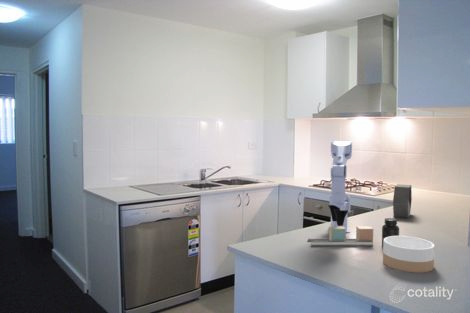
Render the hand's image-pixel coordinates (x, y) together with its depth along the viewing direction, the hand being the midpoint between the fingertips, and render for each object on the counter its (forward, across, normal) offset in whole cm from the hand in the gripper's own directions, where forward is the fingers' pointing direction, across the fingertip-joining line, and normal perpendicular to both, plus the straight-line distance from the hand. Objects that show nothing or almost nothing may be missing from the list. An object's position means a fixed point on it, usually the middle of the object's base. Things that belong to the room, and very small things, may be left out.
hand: (337, 223), depth 164 cm
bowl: (+9, -26, -19) cm, 33 cm away
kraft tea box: (+9, 0, 0) cm, 9 cm away
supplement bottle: (+9, -6, -21) cm, 24 cm away
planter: (+9, +53, -53) cm, 76 cm away
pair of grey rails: (+9, 0, -1) cm, 9 cm away
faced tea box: (+9, 0, -12) cm, 15 cm away
